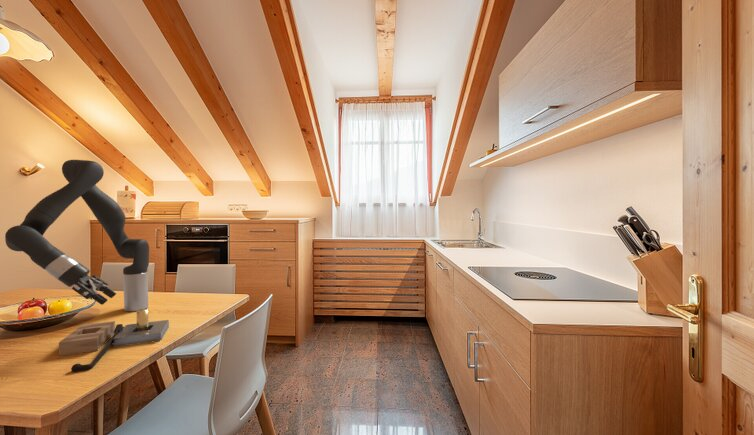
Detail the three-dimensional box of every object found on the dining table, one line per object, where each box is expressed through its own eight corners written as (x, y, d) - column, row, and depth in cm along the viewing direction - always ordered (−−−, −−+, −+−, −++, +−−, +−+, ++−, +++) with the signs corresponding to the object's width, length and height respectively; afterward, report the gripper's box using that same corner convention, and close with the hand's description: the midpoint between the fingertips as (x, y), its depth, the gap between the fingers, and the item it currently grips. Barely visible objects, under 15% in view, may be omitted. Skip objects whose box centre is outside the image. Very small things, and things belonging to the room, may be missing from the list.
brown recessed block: (82, 336, 121) (82, 324, 121) (115, 332, 125) (115, 321, 125) (59, 356, 106) (58, 342, 106) (97, 350, 110) (97, 337, 109)
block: (126, 332, 125) (126, 324, 125) (168, 327, 131) (168, 319, 131) (113, 347, 113) (113, 338, 112) (161, 340, 118) (160, 332, 118)
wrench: (69, 379, 95) (109, 334, 123) (91, 377, 97) (126, 333, 125) (69, 362, 95) (110, 321, 123) (91, 360, 97) (126, 320, 124)
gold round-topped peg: (138, 335, 123) (138, 309, 122) (150, 333, 124) (149, 308, 124) (135, 339, 119) (135, 312, 119) (147, 337, 121) (146, 311, 120)
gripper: (67, 265, 107) (111, 296, 112) (86, 259, 120) (125, 286, 125) (46, 283, 105) (92, 313, 110) (68, 274, 118) (108, 301, 123)
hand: (109, 299), depth 117 cm, fingers open, 8 cm apart
